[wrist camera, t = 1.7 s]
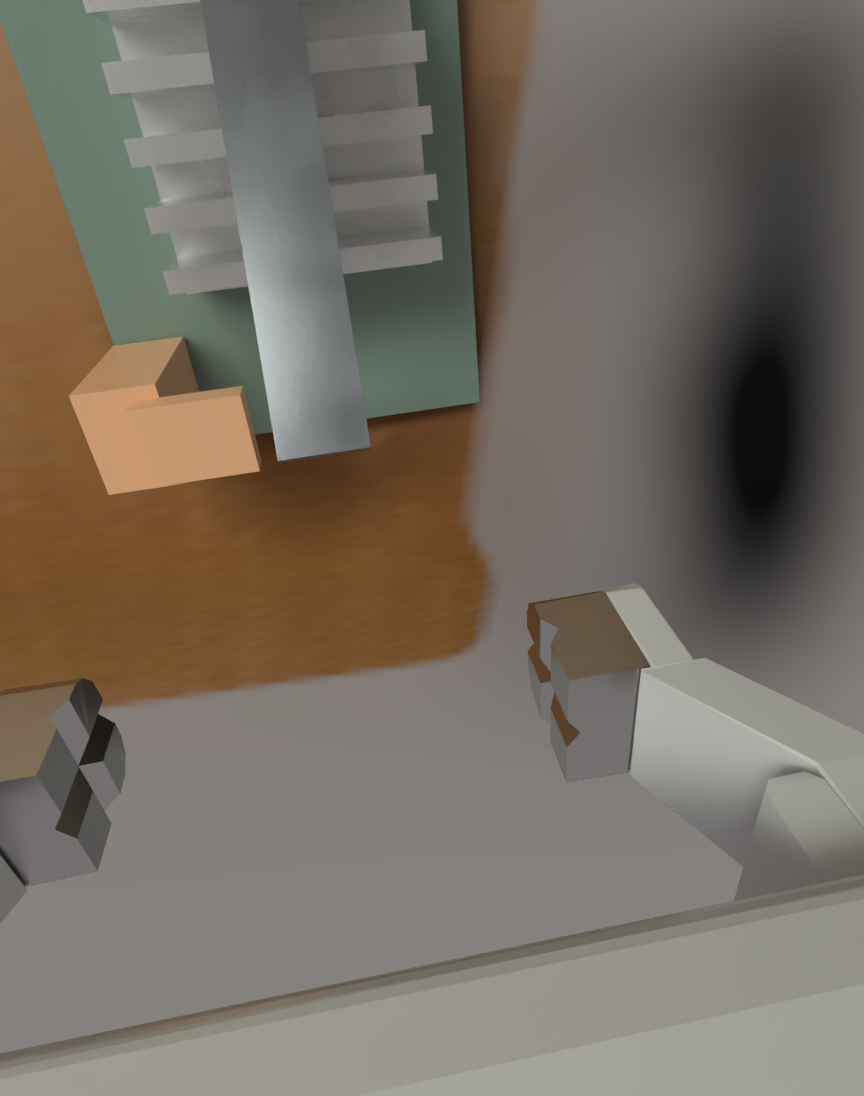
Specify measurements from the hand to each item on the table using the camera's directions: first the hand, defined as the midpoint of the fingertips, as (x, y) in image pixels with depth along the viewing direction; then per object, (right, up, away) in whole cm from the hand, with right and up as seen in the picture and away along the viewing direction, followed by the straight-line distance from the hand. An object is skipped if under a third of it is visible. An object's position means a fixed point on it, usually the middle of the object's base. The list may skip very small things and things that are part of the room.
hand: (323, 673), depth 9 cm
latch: (-9, +9, +21) cm, 25 cm away
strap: (-3, +14, +9) cm, 16 cm away
